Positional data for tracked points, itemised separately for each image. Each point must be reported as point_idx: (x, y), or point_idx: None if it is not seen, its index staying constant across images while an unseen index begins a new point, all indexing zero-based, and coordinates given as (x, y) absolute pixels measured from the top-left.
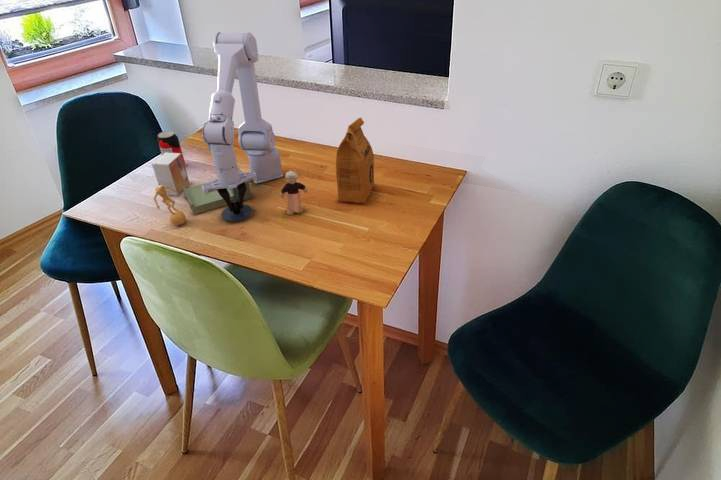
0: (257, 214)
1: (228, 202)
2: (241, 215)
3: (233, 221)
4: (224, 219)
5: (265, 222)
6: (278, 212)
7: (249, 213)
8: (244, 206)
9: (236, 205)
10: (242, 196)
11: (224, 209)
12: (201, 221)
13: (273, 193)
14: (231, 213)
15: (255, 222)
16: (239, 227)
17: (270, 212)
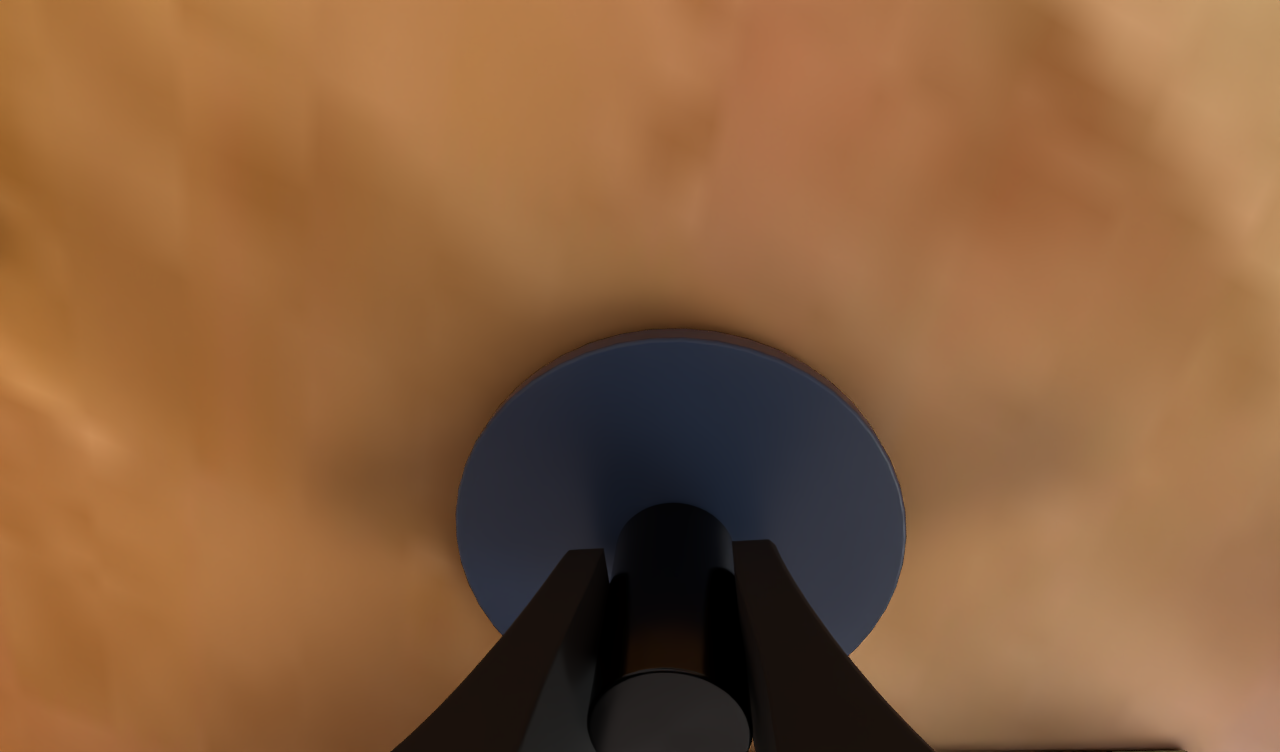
0: (401, 405)
1: (827, 687)
2: (624, 435)
3: (777, 352)
4: (890, 463)
5: (288, 124)
6: (95, 321)
7: (497, 435)
8: None
9: (652, 607)
10: (438, 743)
11: None
12: (1182, 579)
13: (190, 737)
14: None
15: (449, 200)
16: (722, 167)
17: (214, 373)
